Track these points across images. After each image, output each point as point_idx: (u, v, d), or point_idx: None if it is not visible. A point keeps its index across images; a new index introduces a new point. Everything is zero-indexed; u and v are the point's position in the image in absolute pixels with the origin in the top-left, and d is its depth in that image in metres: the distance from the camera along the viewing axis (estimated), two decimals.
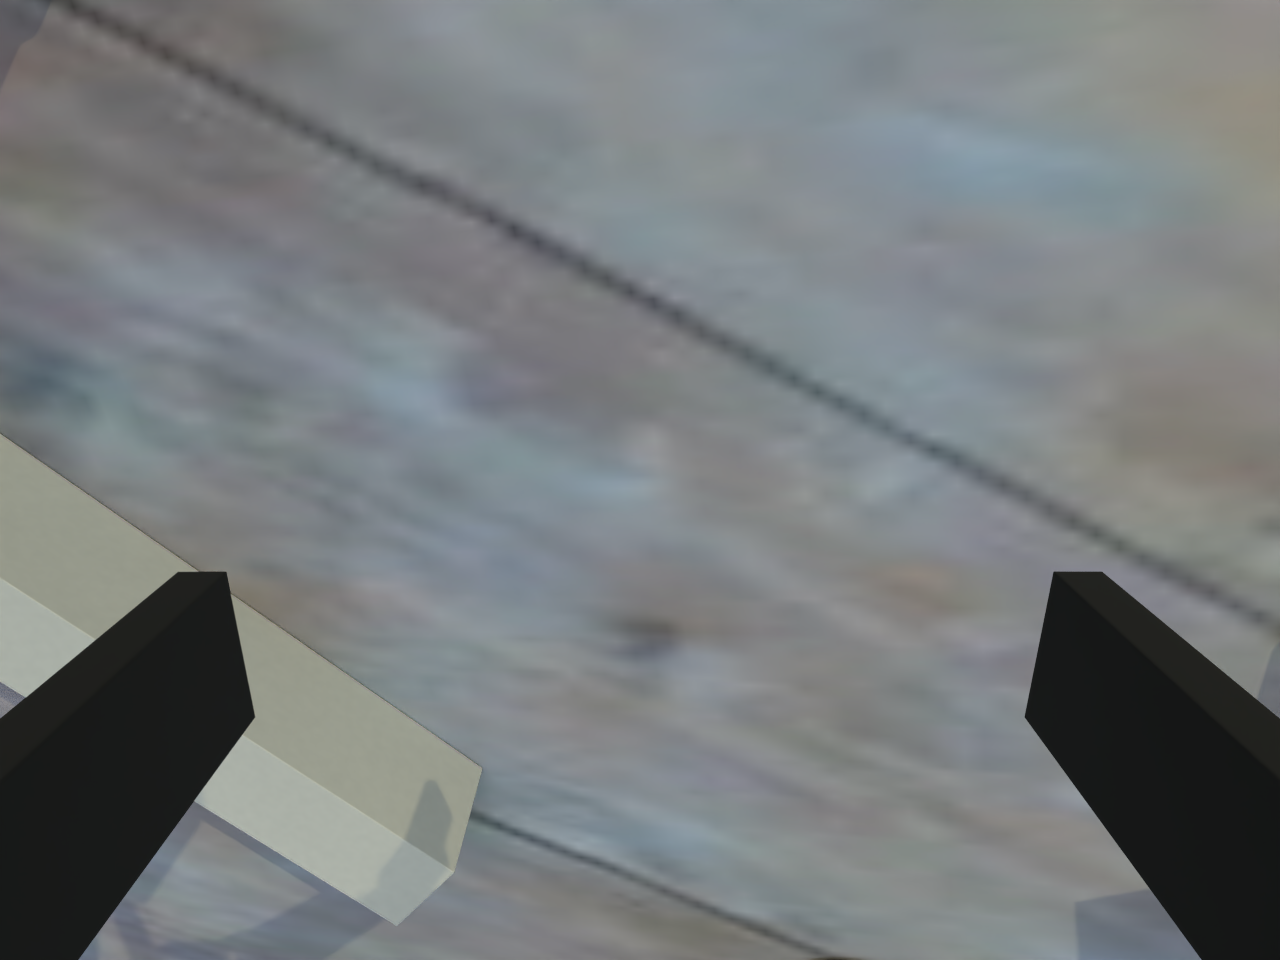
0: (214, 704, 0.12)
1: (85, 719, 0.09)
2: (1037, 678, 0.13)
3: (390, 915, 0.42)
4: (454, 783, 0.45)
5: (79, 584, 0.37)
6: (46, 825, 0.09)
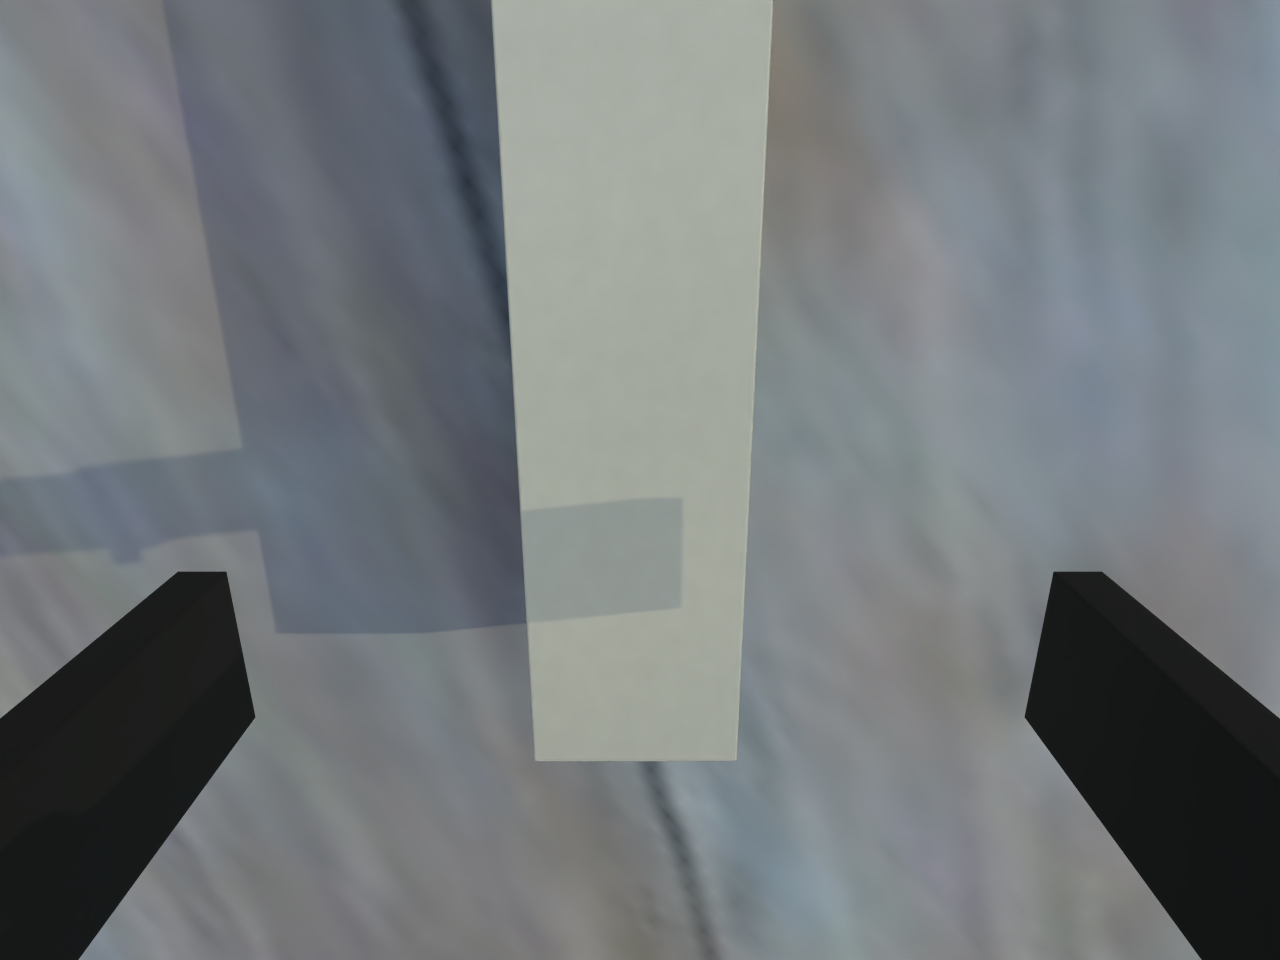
0: (214, 704, 0.12)
1: (85, 719, 0.09)
2: (1037, 679, 0.13)
3: (549, 739, 0.19)
4: None
5: None
6: (46, 825, 0.09)
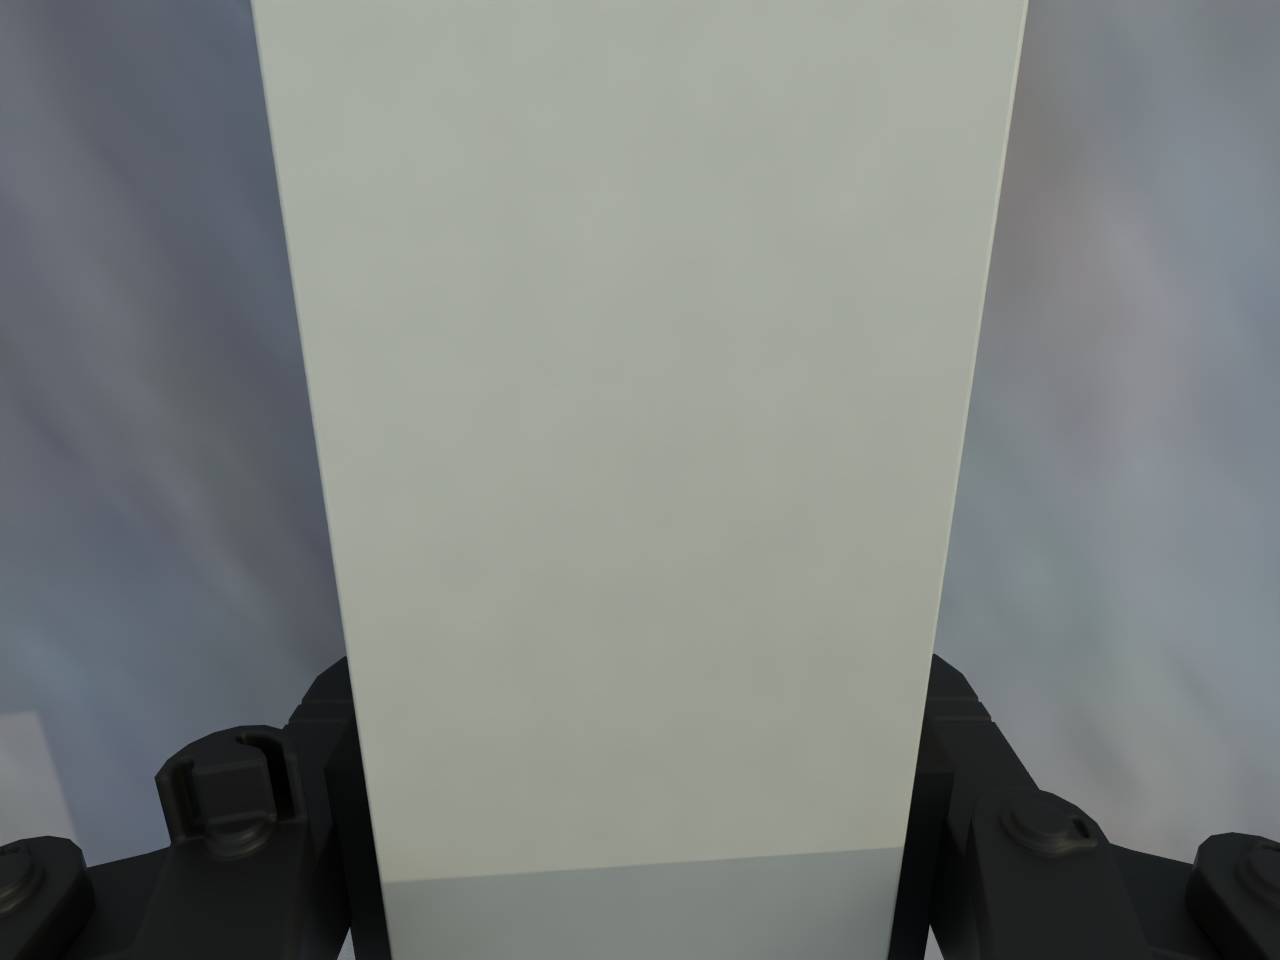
0: None
1: None
2: None
3: None
4: None
5: None
6: None
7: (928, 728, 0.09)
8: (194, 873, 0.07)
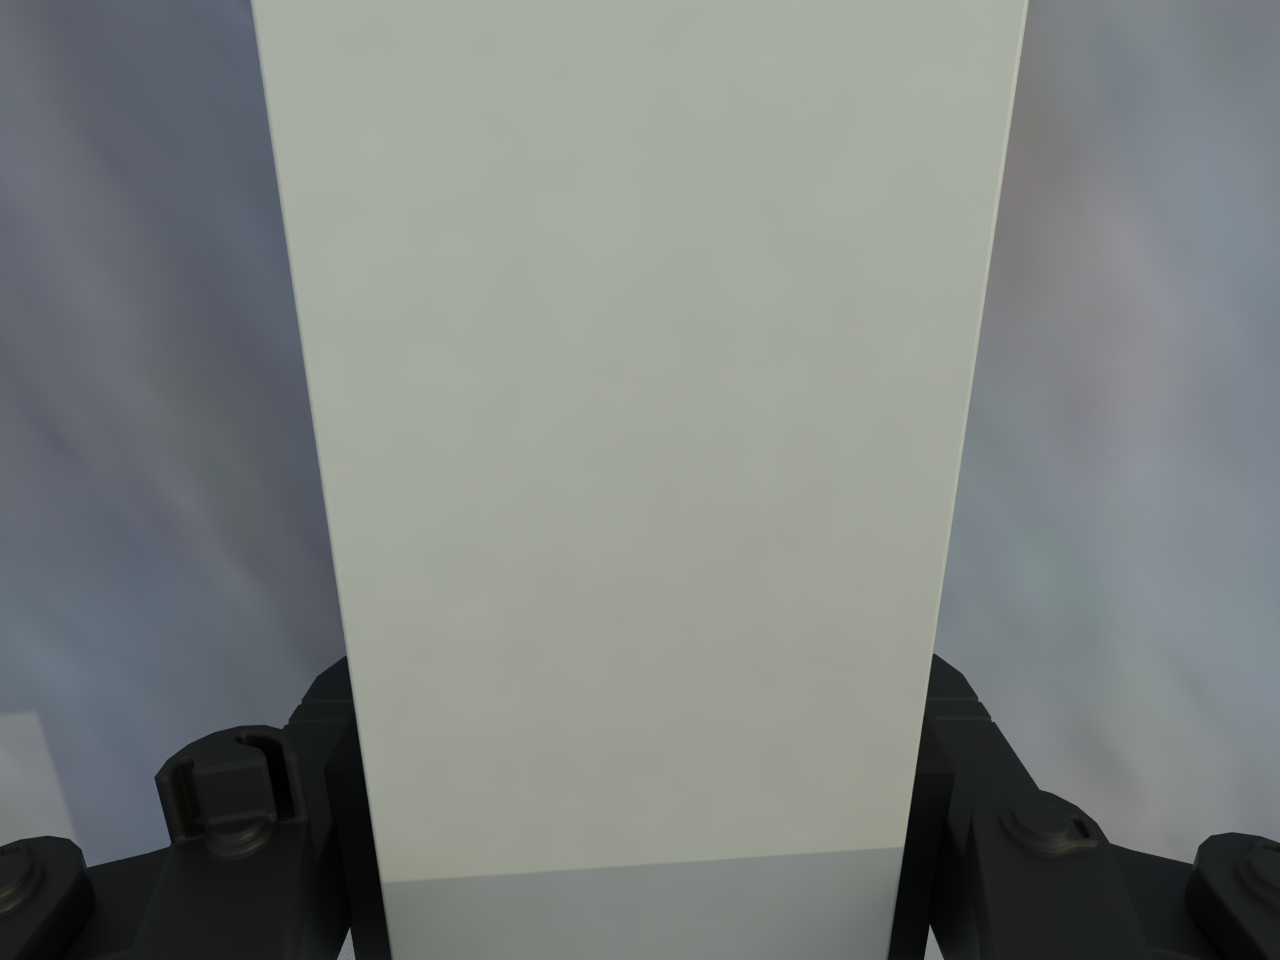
0: None
1: None
2: None
3: None
4: None
5: None
6: None
7: (928, 728, 0.09)
8: (194, 873, 0.07)
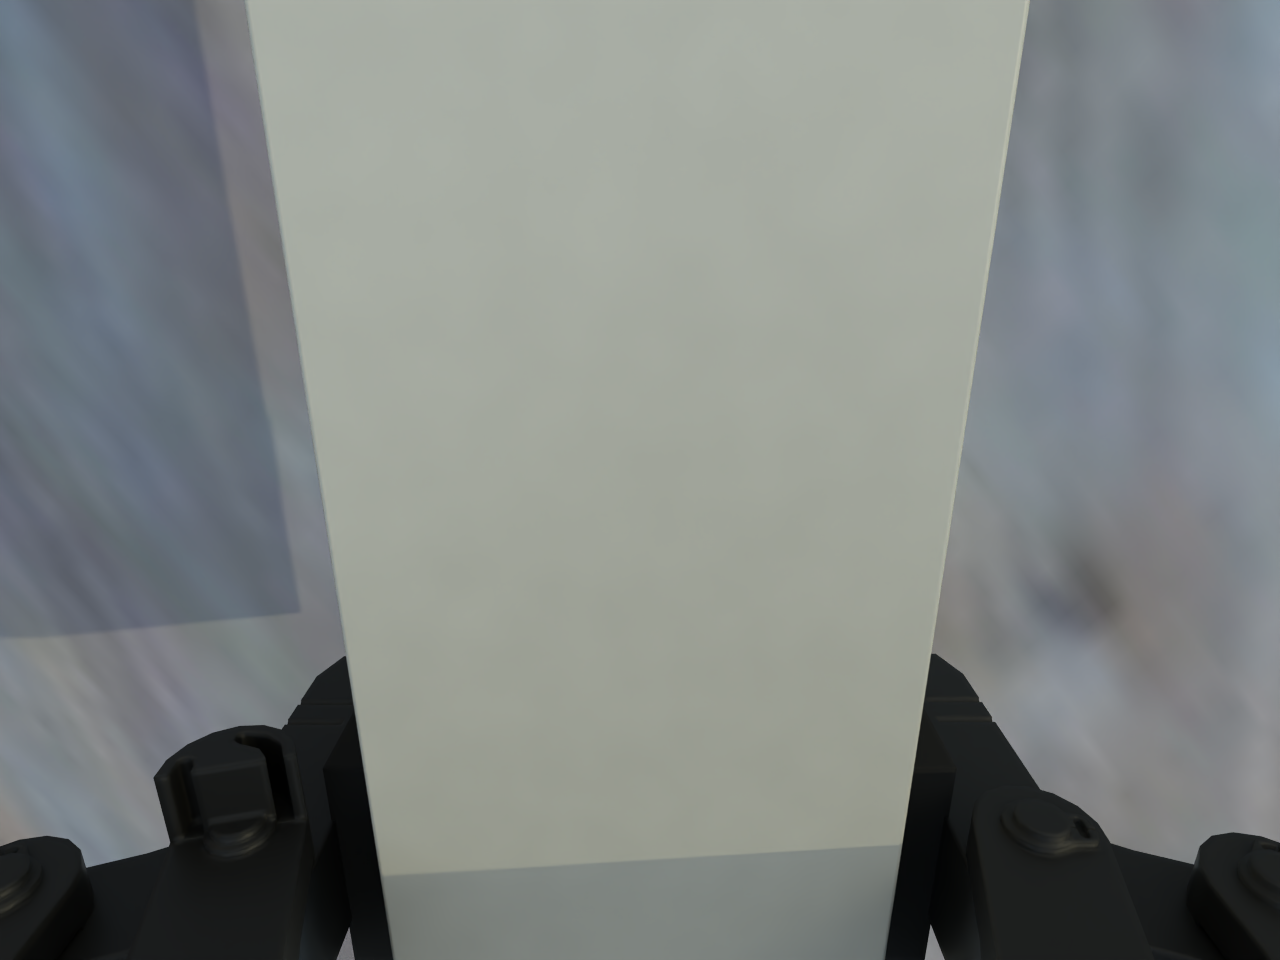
0: None
1: None
2: None
3: None
4: None
5: None
6: None
7: (929, 728, 0.09)
8: (193, 873, 0.07)
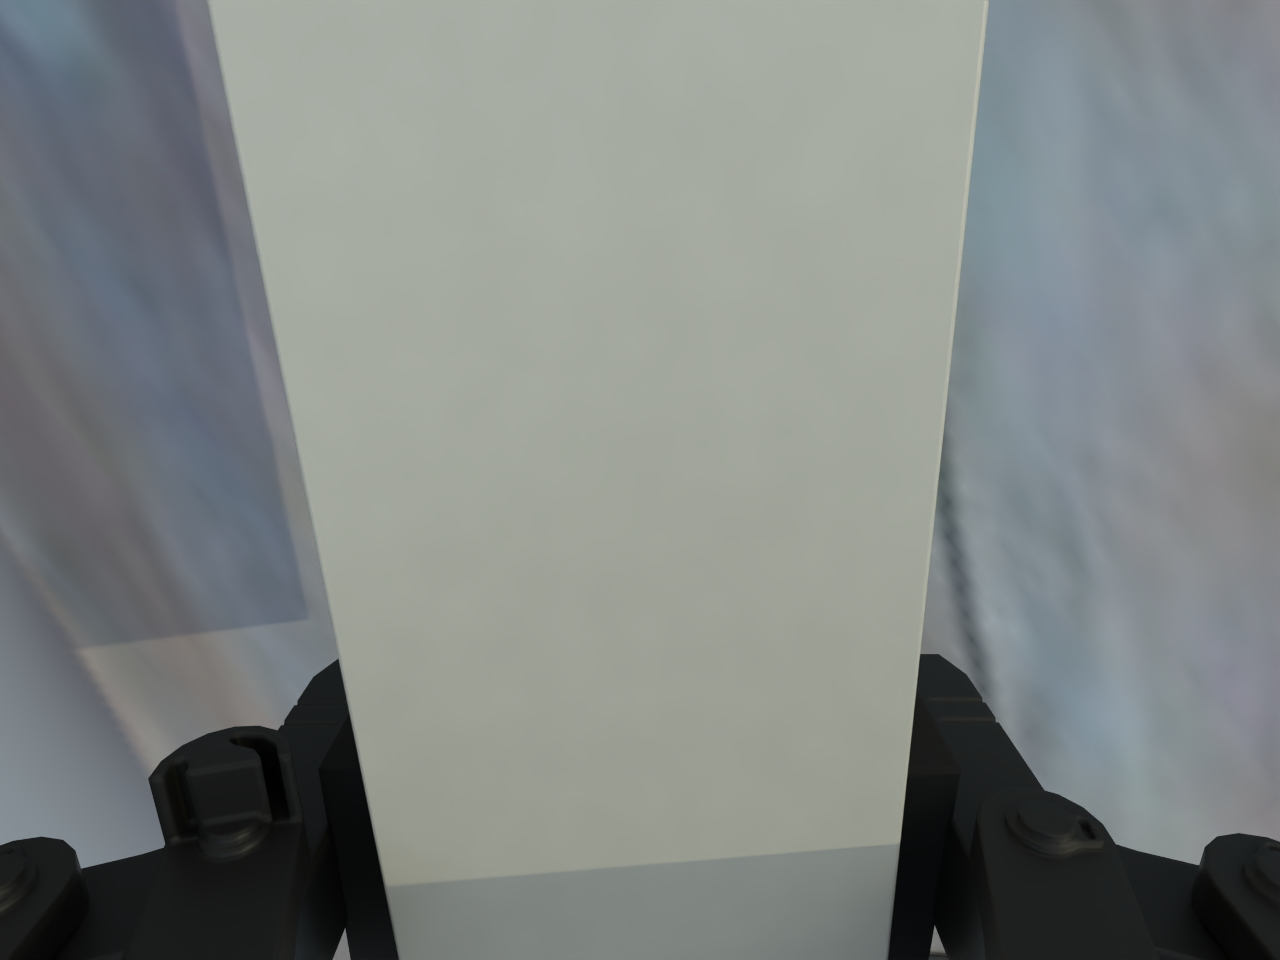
0: None
1: None
2: None
3: None
4: None
5: None
6: None
7: (932, 728, 0.09)
8: (188, 874, 0.07)
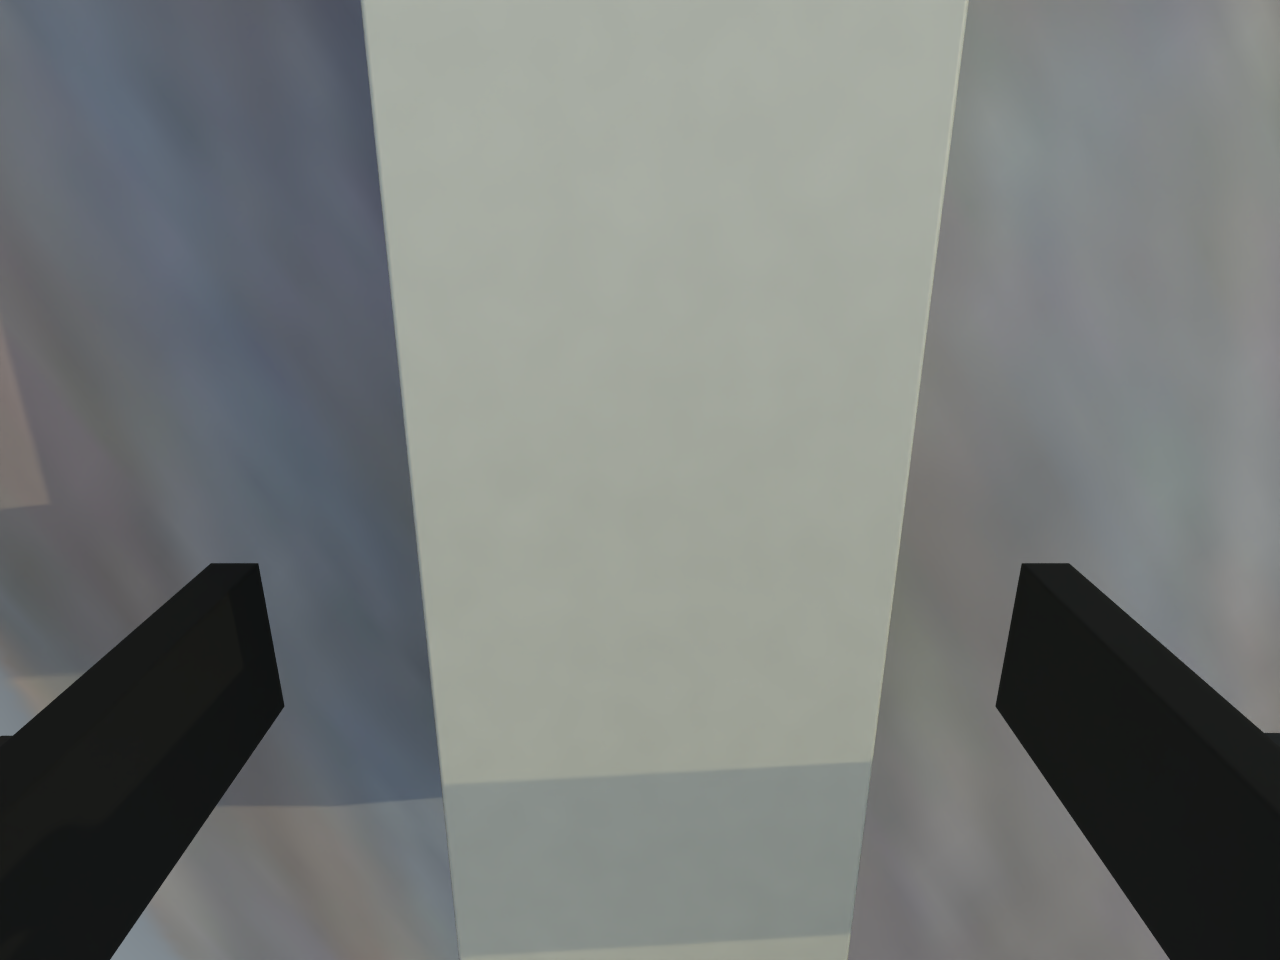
0: (247, 692, 0.12)
1: (132, 704, 0.09)
2: (1007, 668, 0.13)
3: None
4: None
5: None
6: (97, 805, 0.09)
7: None
8: None
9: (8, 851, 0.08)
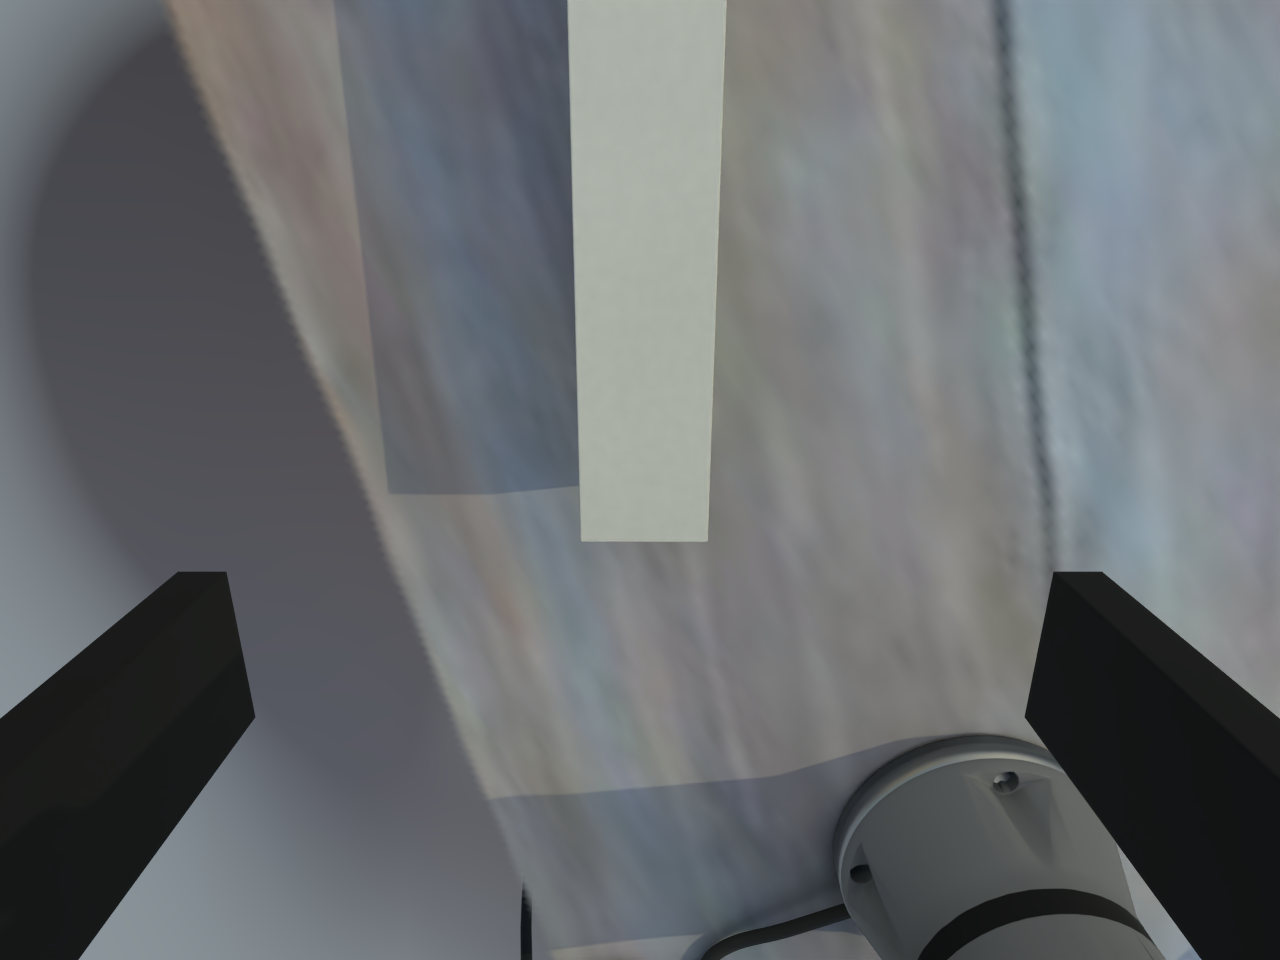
0: (214, 704, 0.12)
1: (85, 719, 0.09)
2: (1037, 678, 0.13)
3: (590, 525, 0.31)
4: None
5: None
6: (46, 825, 0.09)
7: None
8: None
9: None
